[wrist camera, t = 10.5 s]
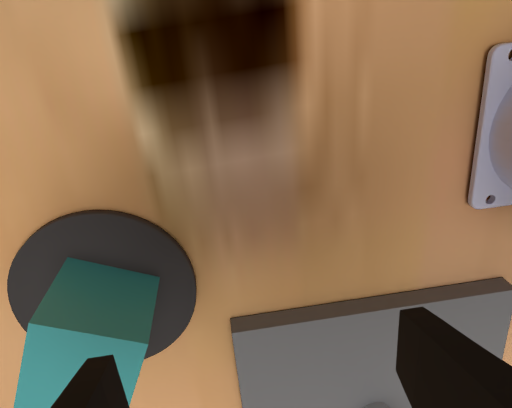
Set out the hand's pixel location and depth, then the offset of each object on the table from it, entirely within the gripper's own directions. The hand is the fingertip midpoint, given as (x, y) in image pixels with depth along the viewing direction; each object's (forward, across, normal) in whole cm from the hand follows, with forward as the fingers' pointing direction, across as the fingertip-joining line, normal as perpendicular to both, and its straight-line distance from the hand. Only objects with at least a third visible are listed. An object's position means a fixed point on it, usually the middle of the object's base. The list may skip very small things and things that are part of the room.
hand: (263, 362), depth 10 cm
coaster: (+10, +7, +4) cm, 13 cm away
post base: (+10, -7, +15) cm, 20 cm away
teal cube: (+10, +7, +4) cm, 13 cm away
